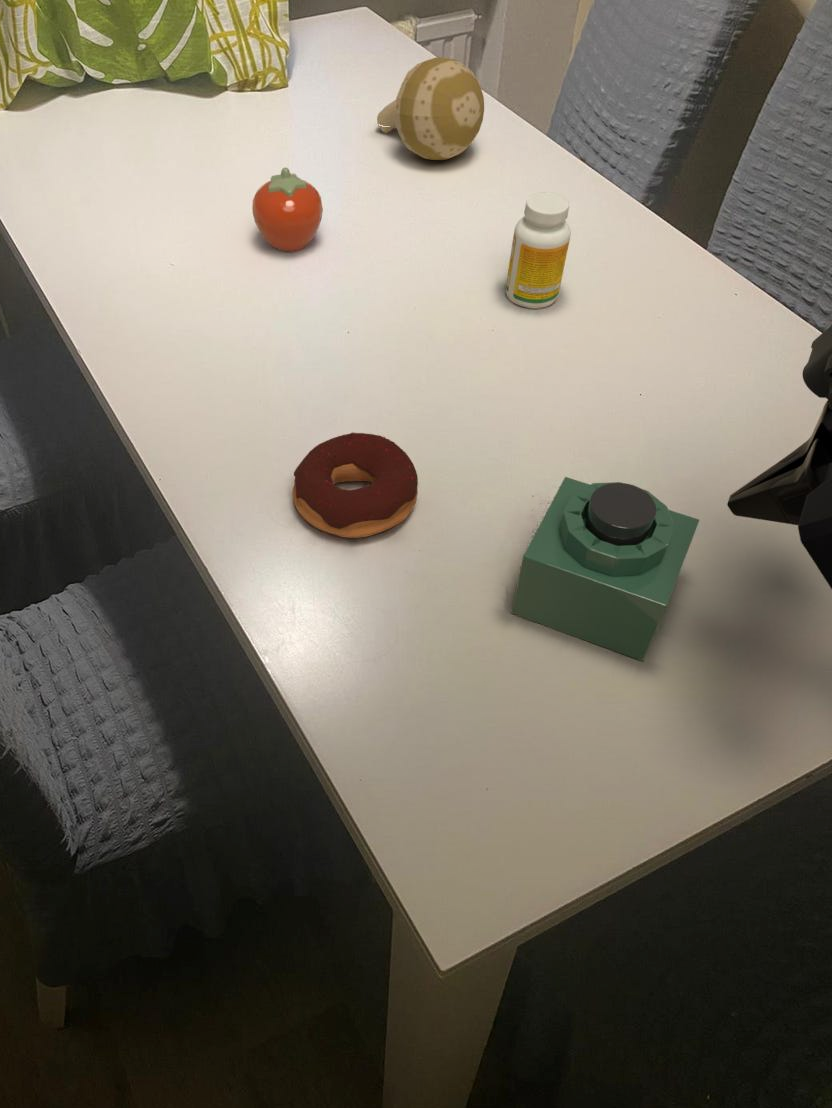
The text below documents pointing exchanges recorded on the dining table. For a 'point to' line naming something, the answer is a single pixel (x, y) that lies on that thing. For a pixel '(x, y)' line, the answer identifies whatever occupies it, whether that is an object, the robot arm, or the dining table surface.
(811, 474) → the robot arm
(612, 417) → the dining table surface
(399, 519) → the donut
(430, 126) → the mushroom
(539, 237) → the supplement bottle
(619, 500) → the dark round knob
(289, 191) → the tomato
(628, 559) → the button base
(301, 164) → the dining table surface
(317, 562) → the dining table surface
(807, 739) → the dining table surface
